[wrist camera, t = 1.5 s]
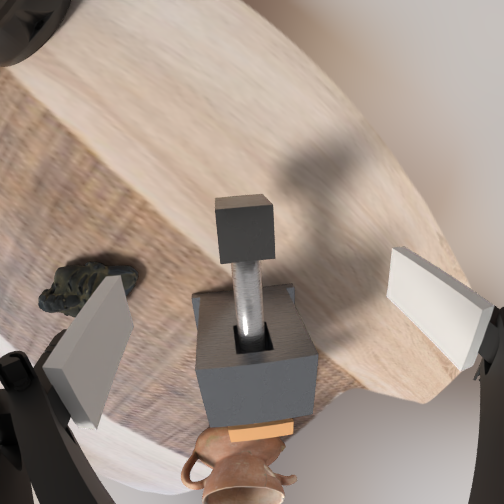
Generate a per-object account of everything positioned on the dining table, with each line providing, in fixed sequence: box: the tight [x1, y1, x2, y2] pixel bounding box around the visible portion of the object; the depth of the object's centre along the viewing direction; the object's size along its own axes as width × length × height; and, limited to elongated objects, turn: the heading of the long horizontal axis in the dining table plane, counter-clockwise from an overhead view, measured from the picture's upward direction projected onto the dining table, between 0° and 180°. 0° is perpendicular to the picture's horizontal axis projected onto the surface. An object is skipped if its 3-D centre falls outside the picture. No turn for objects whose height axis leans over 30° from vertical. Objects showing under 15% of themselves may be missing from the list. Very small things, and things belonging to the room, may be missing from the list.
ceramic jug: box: [181, 426, 297, 504], centre depth 38 cm, size 18×14×14 cm
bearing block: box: [192, 284, 318, 428], centre depth 30 cm, size 8×12×14 cm, turn 94°
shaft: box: [215, 194, 275, 354], centre depth 27 cm, size 27×4×5 cm, turn 4°
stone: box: [38, 262, 138, 317], centre depth 31 cm, size 7×13×5 cm, turn 100°
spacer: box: [228, 418, 294, 442], centre depth 31 cm, size 2×7×7 cm, turn 94°
